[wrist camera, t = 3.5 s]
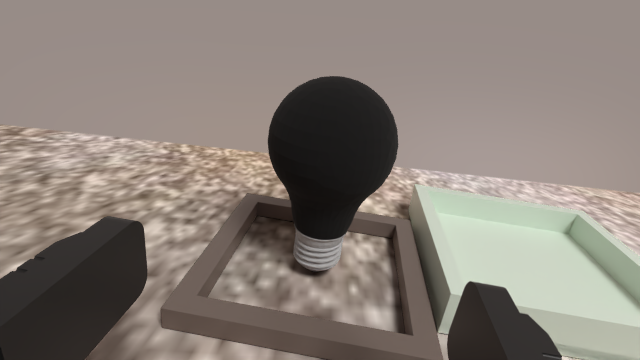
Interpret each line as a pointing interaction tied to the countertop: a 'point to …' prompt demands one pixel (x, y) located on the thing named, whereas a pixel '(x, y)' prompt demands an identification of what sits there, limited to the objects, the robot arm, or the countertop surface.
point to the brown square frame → (293, 329)
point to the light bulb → (330, 160)
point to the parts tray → (531, 267)
